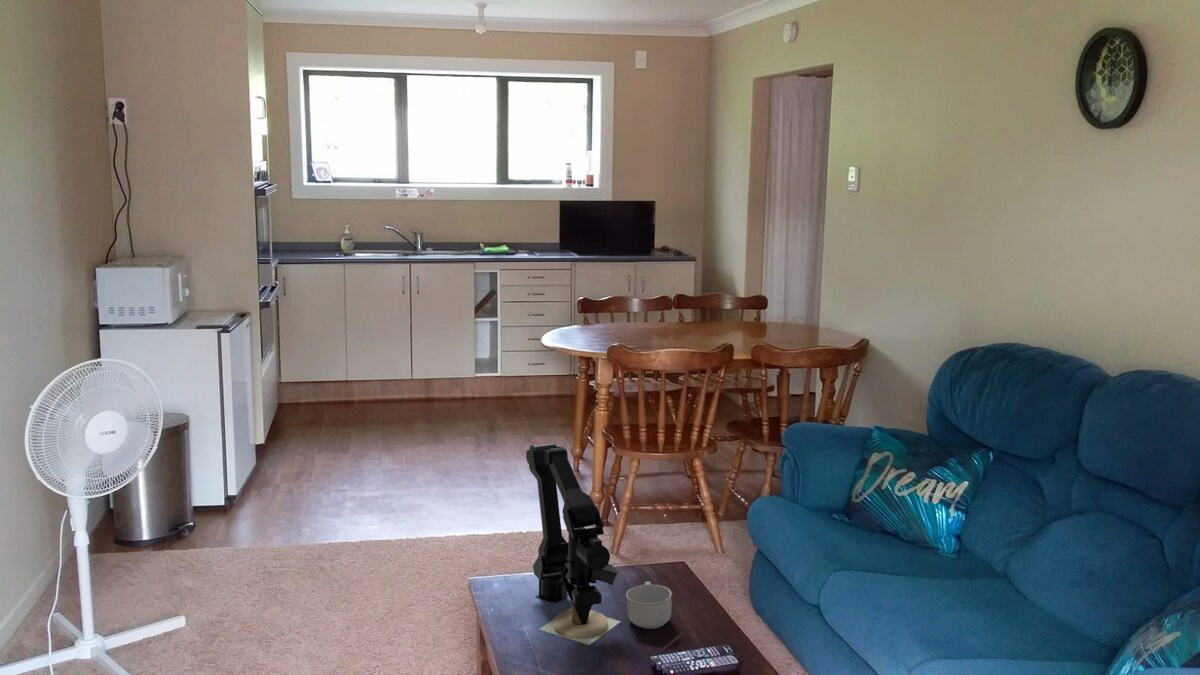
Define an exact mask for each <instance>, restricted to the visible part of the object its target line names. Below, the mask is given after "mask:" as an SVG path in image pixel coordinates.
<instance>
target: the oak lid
mask: <svg viewBox="0 0 1200 675" xmlns="http://www.w3.org/2000/svg"><path fill="white" fill-rule="evenodd" d="M571 608H572V610H569V609H568V610H569V611H567V610H566V611H562V612H560V613H558V614H556V615H555V616H554V618H552V620H553V628H554V630H555V631H556V632H557V633H559V634H561V635H563V636H567V637H571V638H589V637H594V636H597V635H600V634H602V633H603V632H605V631H606V629H607V627H608V620H607V618H608V617H607V616H605V615H604V613H603V614H602V613H601V612H600V611H599V612H598V611H596V610H592V609H591V610H590V613H589V616H588V620H587V623H586V625H581V622H580V620H579V617H578V614H577V612H576V609H575V607H574V605H573V604H572V606H571ZM606 617H607V618H606Z"/></svg>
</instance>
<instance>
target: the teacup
mask: <svg viewBox="0 0 1200 675" xmlns="http://www.w3.org/2000/svg"><path fill="white" fill-rule="evenodd" d="M672 595H673V593H672V591H671V589H669V588H668V587H666V586H663V585H660V584H652V582H651V581H645V582H644V584H640V585H635V586H634V587H632V588H629V589H628V590H627V591H626V593H625V597H626V606H627V614H628V618H629V620H630V622H631V623H632V624H634V625H635V626H637V627H638V628H642V629H647V630H653V629H659V628H662V627H663V626H664V625H666V623H668V622H669V621H670V619H671V617H672V602H673V601H672Z"/></svg>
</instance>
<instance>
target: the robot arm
mask: <svg viewBox="0 0 1200 675" xmlns="http://www.w3.org/2000/svg"><path fill="white" fill-rule="evenodd" d="M568 455H569V454H568V451H567V448H565V447H564V446H557V444H556V443H555V442H549V443H548V442H547V443H537V444H531V445H530V446H529V449H527V450H526V452H525V458H526V461H527V465H528V469H529V471H530V473H531V474H532V475H533V476H534V478H535V479H536V482H537V490H538V500H539V509H540V519H541V527H542V536H543V537H542V540H541V543H540V544H539V546H538V550H537V552H538V557H537V558H536V560H535V561H534V563H533V564H532V568H533V570H532V571H533V575H535V577H537V579H538V594H537V595H536V596H535V598H536V599H539V600H543V601H546V602H549V603H553V604H557V603H558V602H560V601H563V600H564V599H566V598H567V597H568V596H569V600H570V602H571V604H572V606H573V605H574V607H575V609H576V612H577V614H578V617H579V620H580V622H581V625H586V623H587V620H588V616H589V613H590V610H592V608H593V606H594V605H600V604H601V603H602V602H603V601H602V600H603V599H602V597H603V596H602V593H601V591H600V590H599V588H598V587H597V586H596V585H590V584H597V581H599V582H603V583H606V584H607V585H610V586H613V585H614V583H615V581H616V577H617V575H618V571H617V569H616V567H615V566H614V565H613V564H611V563H609V562H610V560H611V554H610V551H609V549H608V548H607V547H605V546H604V545H603V540H602V539H600V538H598V537H599V536H602V535H605V532H604V527H605V526H604V522H603V520H602V516H601V514H600V511H599V508H598V506H597V505H596V504H595V502H594V500H593V499H592V497H591V496H590V495H589V494H587V493H586V492H584V491H583V490H582V488H581V485H580V482H579V481H578V479H577V476H576V475H575V474H576V473H575V472H574V470H573V467H572V466H571V463H570V460H569V459H568V458H569V456H568ZM558 490H559V493H560V496H561V498H562V500H563V501H562V502H563V508H562V519H563V522H564V525H565V527H566V531H567V532H568V542H567V540H566V539H565V538H564V537H563V533H562V523H561V515H560V504H559V497H558V496H559V495H558ZM594 526H595V527H594Z"/></svg>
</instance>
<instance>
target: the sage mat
mask: <svg viewBox="0 0 1200 675" xmlns="http://www.w3.org/2000/svg"><path fill="white" fill-rule="evenodd" d="M569 610H572V607H570V608H569V609H568V610H566V611H569ZM605 617H606V618H607V620H608V627H607V629H606V631H605V632H603V633H602V634H600V635H597V636H594V637H589V638H571V637H567V636H563V635H561V634H559V633H557V632H556V631H555V630H554V628H553V619H552V620H550V622H548V623H546V624H544V625H543V626H542V627H540V628H538V629H539V631H542V632H546V633H549V634H552V635H554V636H558V637H560V638H561V637H562V638H565V639H567V640H571V641H575V642H579V643H581V644H584V645H587V646H591V644H592V643H594V642H595V641H597V640H598V639H599V638H601V637H602V636H604V635H605V634H606V633H608V632H609V631H610V630H612V629H614V628H615V627H616V626H618V624H620V623H621V622H622V621H621V620H618V619H617V620H616V619H615V618H611V617H607V616H605Z"/></svg>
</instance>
